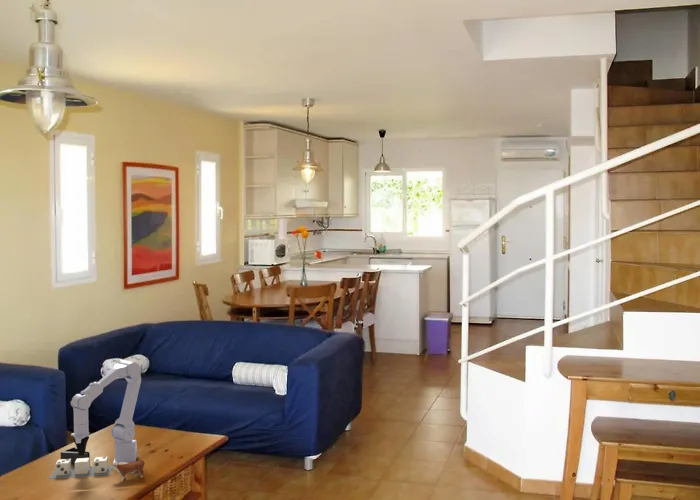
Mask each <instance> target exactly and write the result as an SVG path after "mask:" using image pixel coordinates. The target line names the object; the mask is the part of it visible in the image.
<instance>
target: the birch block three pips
mask: <svg viewBox="0 0 700 500" xmlns="http://www.w3.org/2000/svg"><path fill="white" fill-rule="evenodd" d="M71 468H72V465H71V459H61V458H60V459H57V461H56V463H55V469H56V475H69V473H70V472H71Z"/></svg>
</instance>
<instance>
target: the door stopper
mask: <svg viewBox="0 0 700 500" xmlns="http://www.w3.org/2000/svg"><path fill="white" fill-rule="evenodd" d="M90 454H91V453H90V451H87V450H85V454H84V455H80V456H79V454H78V450H77V447H76V446H73V447H70V448H68V449H66V450H63V451H60V459H71V466H75V461H76V459H77V458H89V463H90V464H91V455H90Z"/></svg>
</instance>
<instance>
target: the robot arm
mask: <svg viewBox="0 0 700 500" xmlns="http://www.w3.org/2000/svg"><path fill="white" fill-rule="evenodd" d="M141 371H142V367H141V366H140V364H139V363H137V362H134V361H130V360H127V359H121V360H119V361H117V363H115V364H114V365H113V367H112V369H110V370H109V371H108V372H107V373H106V374H105V375H104V376H103V377H102V378H101V379H99V381H93V382H90V383H89V385H88V386H87V387H86V388H85V389H83V390H81V391H80V392H79V393H76V394H75V395H74V396H73V397H72V399H71V401H70V406H71V407H72V408H73V409H72V410H73V433H71V434H70V436H71V437H74V439H73V443H74V445H75V447H77V450H78V454H79V456H80V455H84V454H85V451H87V445H88V441H89V439H90V432H89V431H90V430H89V429H90V428H89V408H90V407H91V404H92V403H93V401H94V400H96V398H98V396H100V395H101V394H102V393H103V392H104V388H105V387H107V386H108V385H110V384H111V383H112V382H113V381H115V380H116V379H117V378H124V379H125V380H126V382H127V384H126V389H125V392H124V397H123V402H122V406H121V410H120V414H119V417H118V418H117V419H116V420H115V422H114V425H113V426H112V427H111V430H110V434H111V436H112V437H113V440H114V459H113V462H112V463H113V464H114V463H115V462H119V463H120V462H123V463H129V462H135V461H137V457H138V443H137V442H138V441H137V439H134V437H135V433H136V432H135V431H136V430H135V427H136V425H135V422H134V421H133V418H134V413H135V408H136V405H137V401H138V395H139V391H140V388H141V383H142V375H141Z"/></svg>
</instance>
